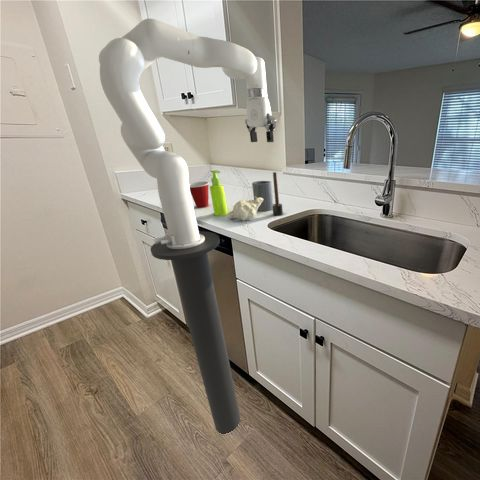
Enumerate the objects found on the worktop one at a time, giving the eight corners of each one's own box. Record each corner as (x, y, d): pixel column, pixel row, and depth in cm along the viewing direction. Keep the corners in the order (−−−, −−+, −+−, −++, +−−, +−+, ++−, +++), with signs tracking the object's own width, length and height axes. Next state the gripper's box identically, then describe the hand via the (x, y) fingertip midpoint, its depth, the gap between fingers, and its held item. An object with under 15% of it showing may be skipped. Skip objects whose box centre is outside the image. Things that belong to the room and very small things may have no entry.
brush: (276, 216, 117) (273, 173, 110) (271, 214, 120) (267, 172, 113) (284, 214, 120) (281, 172, 113) (279, 212, 123) (275, 171, 116)
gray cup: (261, 212, 124) (258, 184, 119) (251, 208, 130) (248, 182, 125) (277, 208, 129) (274, 182, 124) (266, 205, 135) (264, 180, 130)
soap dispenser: (219, 216, 118) (211, 171, 110) (212, 213, 122) (204, 170, 115) (231, 213, 122) (224, 170, 114) (223, 211, 126) (217, 169, 119)
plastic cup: (187, 206, 136) (182, 183, 131) (208, 202, 142) (204, 180, 138) (194, 210, 128) (189, 186, 124) (216, 206, 135) (212, 183, 130)
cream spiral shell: (229, 229, 108) (254, 207, 104) (219, 215, 109) (244, 192, 105) (249, 228, 123) (271, 208, 119) (240, 216, 124) (263, 196, 120)
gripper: (235, 96, 103) (241, 142, 110) (266, 92, 94) (270, 142, 100) (250, 98, 109) (255, 141, 115) (280, 94, 99) (283, 141, 106)
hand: (262, 142), depth 108 cm, fingers open, 9 cm apart
